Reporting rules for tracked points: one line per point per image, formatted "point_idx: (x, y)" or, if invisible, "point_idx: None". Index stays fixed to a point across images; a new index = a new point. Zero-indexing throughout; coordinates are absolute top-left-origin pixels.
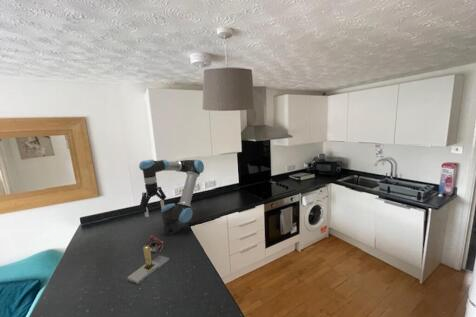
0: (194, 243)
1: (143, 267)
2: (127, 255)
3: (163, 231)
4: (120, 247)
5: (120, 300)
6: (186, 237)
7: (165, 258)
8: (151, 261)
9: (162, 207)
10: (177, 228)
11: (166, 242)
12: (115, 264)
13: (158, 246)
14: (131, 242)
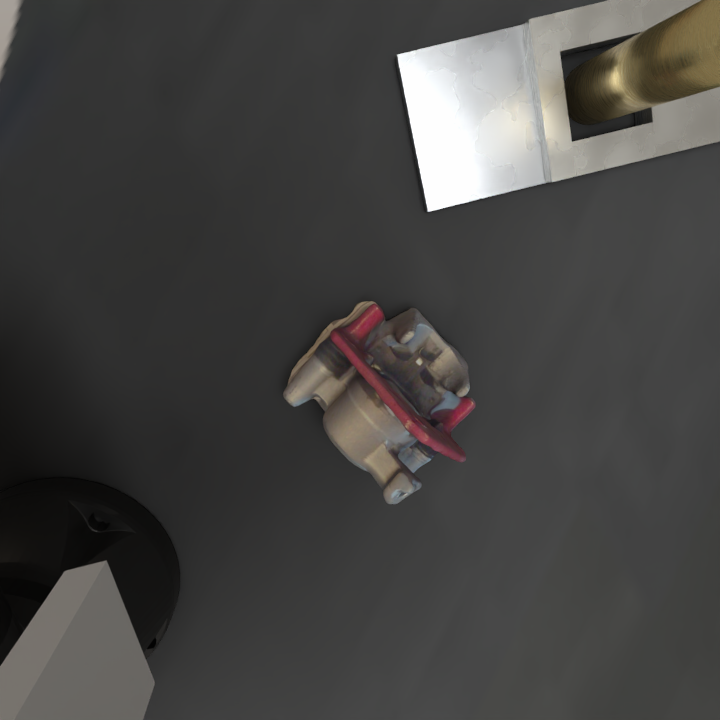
0: (22, 65)
1: (646, 127)
2: (584, 509)
3: (164, 593)
4: (552, 691)
5: None
6: (18, 286)
7: (423, 85)
8: (619, 44)
9: (112, 660)
10: (4, 511)
11: (237, 398)
12: (705, 460)
13: (366, 343)
14: (454, 696)
